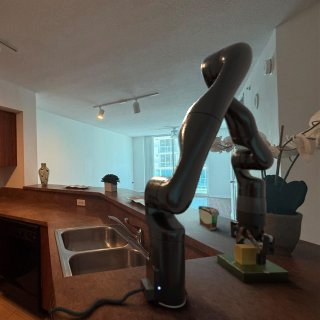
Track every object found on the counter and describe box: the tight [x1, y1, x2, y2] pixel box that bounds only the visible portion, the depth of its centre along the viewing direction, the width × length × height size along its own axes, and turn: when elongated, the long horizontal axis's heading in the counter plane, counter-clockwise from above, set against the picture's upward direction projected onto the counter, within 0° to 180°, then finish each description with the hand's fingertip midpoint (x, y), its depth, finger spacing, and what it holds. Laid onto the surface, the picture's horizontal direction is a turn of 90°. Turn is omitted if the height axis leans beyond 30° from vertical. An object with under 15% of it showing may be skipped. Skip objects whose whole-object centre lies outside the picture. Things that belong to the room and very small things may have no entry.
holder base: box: [216, 253, 290, 284], centre depth 64 cm, size 14×12×3 cm
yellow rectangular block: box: [234, 243, 262, 265], centre depth 64 cm, size 8×3×6 cm, turn 92°
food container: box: [198, 205, 220, 232], centre depth 103 cm, size 12×6×10 cm, turn 179°
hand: (250, 258), depth 64 cm, fingers open, 6 cm apart
